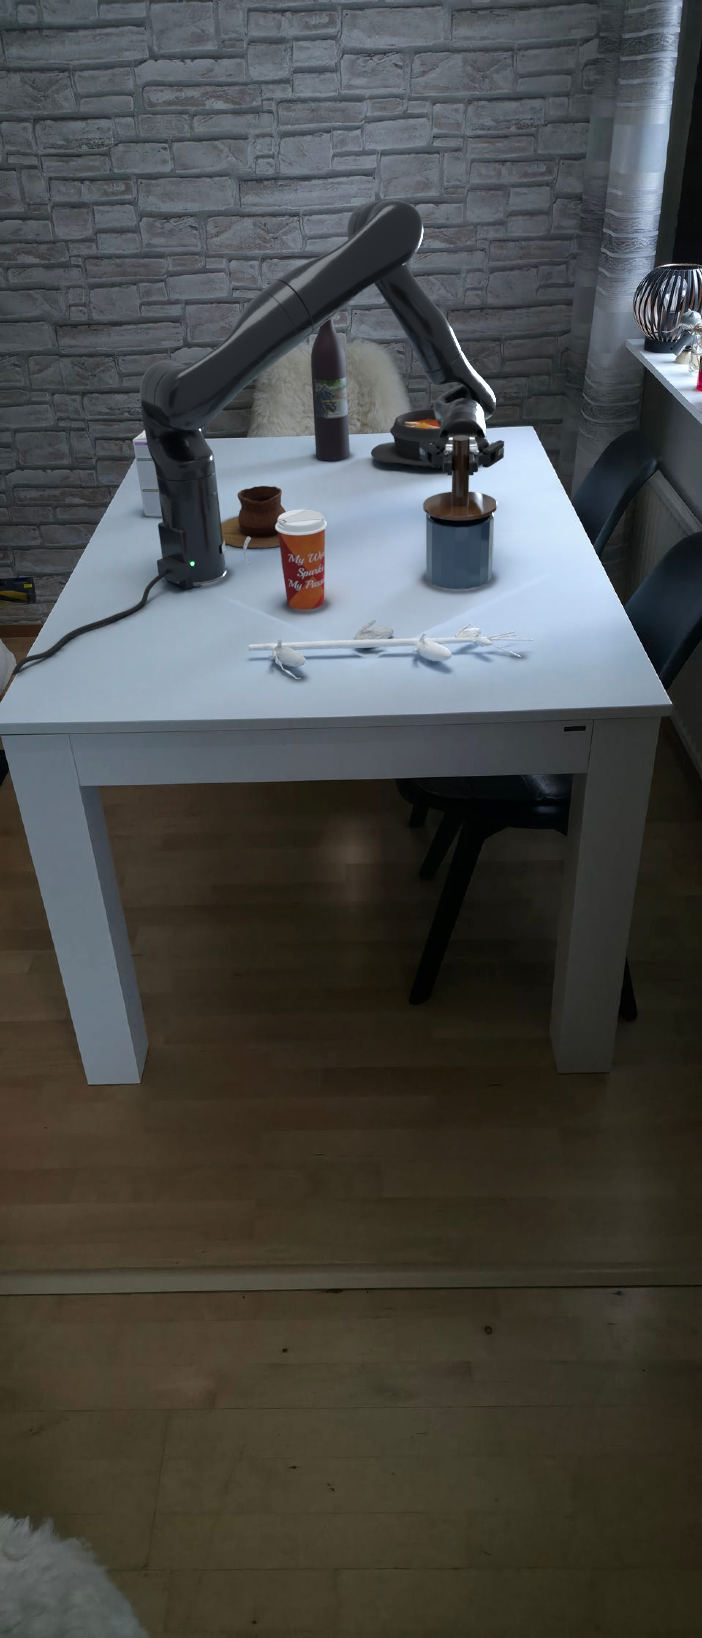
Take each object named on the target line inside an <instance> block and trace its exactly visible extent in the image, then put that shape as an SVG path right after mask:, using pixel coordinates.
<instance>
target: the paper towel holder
mask: <svg viewBox="0 0 702 1638" xmlns="http://www.w3.org/2000/svg"><path fill="white" fill-rule="evenodd" d="M469 456H470V437H469V436H464V435H459V436H454V437H453V438H452V475H451V491H446V492H441V493H440V492H439V493H438V494H433V495H431V496H429V497H427V498H426V499H425V500H423V503H422V510H423V511H424V513H425V514H429V515H431V516H433V517H436V518H440V519H446V520H473V519H478V518H482V517H486V516H488V515H491V514H492V513H493V514H494V513H495V512H496V511H497V509H498V501H497V499H495V498H494V497H492V496H490V495H489V494H486V493H482V492H476V491H470V475H469Z"/></svg>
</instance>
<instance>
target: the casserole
mask: <svg viewBox="0 0 702 1638" xmlns="http://www.w3.org/2000/svg"><path fill="white" fill-rule="evenodd" d="M389 433H390V434H391V435H392V437H393V441H391V442H385V443H380V444H378V445H376V446H374V447H373V448H372V450H371V451H370V455H371V457H372V458H374V460H376V461H379V462H380V463H381V462H382V463H388V464H403V465H407V466H411V467H416V468H420V469H421V468H422V469H435V468H434V467H431V466H430V465H429V464H427V463H426V462H424V461H423V460H422V459H420V442H421V441H426V442H428V443H432V444H433V445H435V442H436V441H437V440H439V433H440V426H439V424H438V422H437V420H436V417H435V414H434V409H419V410H414V411H413V410H412V411H409V412H404V413H402V414H400V415H398V416H397V417H396V418H395V419H394V422H393V426H391V428H390V429H389ZM438 468H439V469H440V468H443V466H442V465H440V467H438ZM438 468H437V469H438Z"/></svg>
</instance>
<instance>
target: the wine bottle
mask: <svg viewBox="0 0 702 1638" xmlns="http://www.w3.org/2000/svg"><path fill="white" fill-rule="evenodd" d="M310 371H311V388H312V389H311V390H312V405H313V406H312V407H313V408H312V409H313V424H314V425H313V426H314V441H315V442H314V445H315V455H316V458H317V459H319V460H321V461H326V462H337V461H342V460H345V459H347V458H348V457H349V456H350V451H351V450H350V427H349V403H348V401H349V399H348V374H347V372H348V371H347V358H346V351H345V347H344V345H343V341H341V338H340V337H339V335H338V333H337V330H336V328H335V326H334V316H333V317H331V318H330V319H329V320H328V321H326V322H325V323H324V324H323V325H322V326H321V327H319V328H318V332H317V334H316V337H315V340H314V341H313V345H312V348H311V353H310Z"/></svg>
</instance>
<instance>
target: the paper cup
mask: <svg viewBox="0 0 702 1638" xmlns="http://www.w3.org/2000/svg"><path fill="white" fill-rule="evenodd" d="M327 527H328V522H327V521H326V518H325V516H324V515H323V514H322V513H321V512H319V511H316V510H311V509H294V510H293V509H292V510H289V511H286V512H285V513H283V514H281V515H280V516H279V517H278V520H277V524H276V526H275V528H276V530H277V531H278V536H279V544H280V546H279V551H280V559H281V568H282V575H283V580H284V588H285V595H286V601H287V605H288V606H289V608H292V609H295V610H301V611H303V610H304V611H306V610H307V611H308V610H313V609H317V608H319V607H321V606H323V605H324V603H325V583H326V581H325V577H326V576H325V574H326V571H325V570H326V569H325V568H326V566H325V564H326V563H325V562H326V528H327Z"/></svg>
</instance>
